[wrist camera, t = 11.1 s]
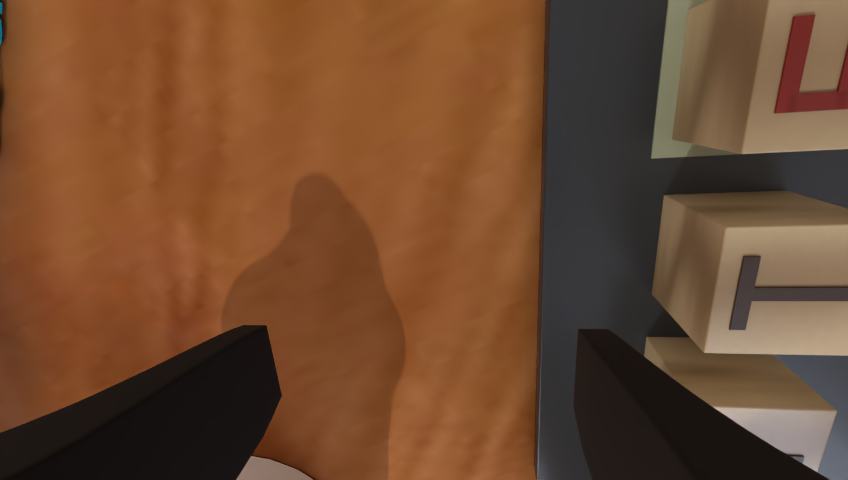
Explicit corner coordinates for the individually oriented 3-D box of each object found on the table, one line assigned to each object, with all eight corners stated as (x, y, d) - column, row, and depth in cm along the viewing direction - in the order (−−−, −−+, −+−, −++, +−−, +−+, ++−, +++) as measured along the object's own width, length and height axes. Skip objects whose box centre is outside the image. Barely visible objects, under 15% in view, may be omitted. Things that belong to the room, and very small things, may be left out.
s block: (801, 133, 14) (929, 145, 10) (671, 139, 15) (742, 154, 11) (832, -5, 13) (994, -54, 9) (687, 9, 13) (776, -30, 9)
